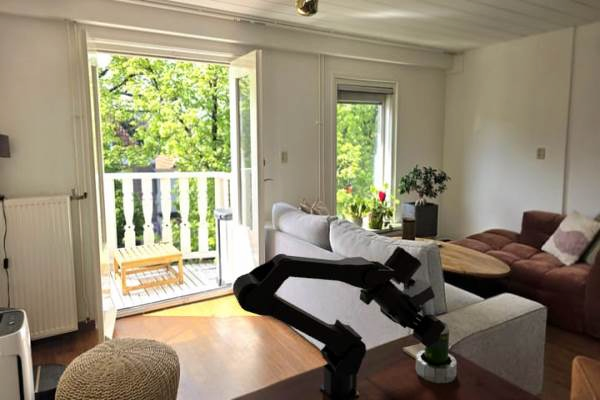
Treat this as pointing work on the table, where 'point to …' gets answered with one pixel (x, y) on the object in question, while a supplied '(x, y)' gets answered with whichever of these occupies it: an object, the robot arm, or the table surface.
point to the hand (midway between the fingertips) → (430, 337)
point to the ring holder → (436, 369)
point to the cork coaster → (414, 349)
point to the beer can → (438, 351)
